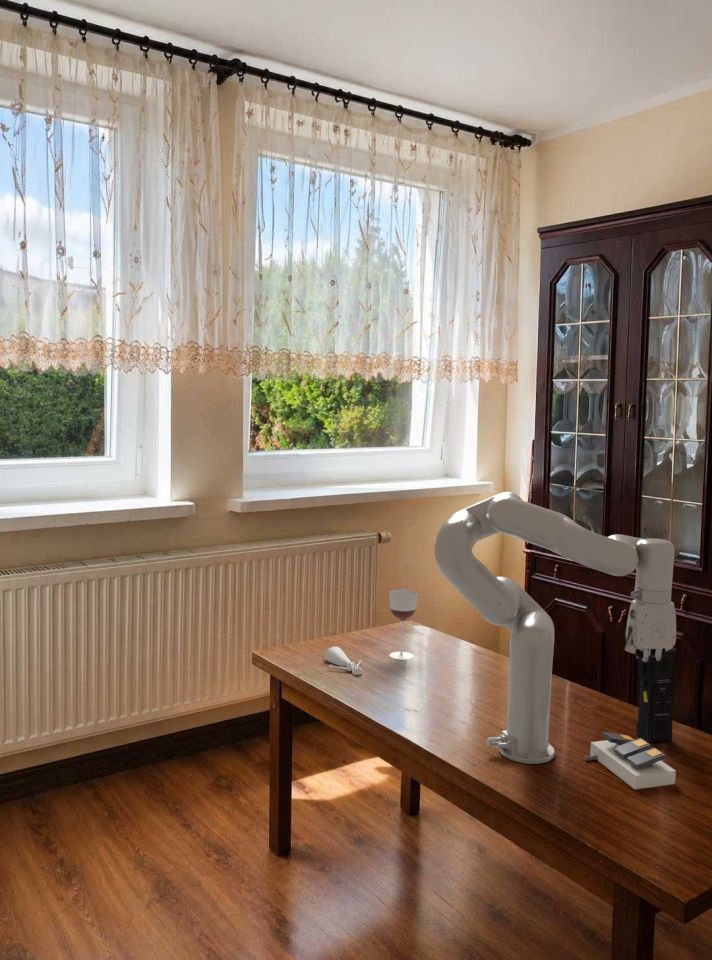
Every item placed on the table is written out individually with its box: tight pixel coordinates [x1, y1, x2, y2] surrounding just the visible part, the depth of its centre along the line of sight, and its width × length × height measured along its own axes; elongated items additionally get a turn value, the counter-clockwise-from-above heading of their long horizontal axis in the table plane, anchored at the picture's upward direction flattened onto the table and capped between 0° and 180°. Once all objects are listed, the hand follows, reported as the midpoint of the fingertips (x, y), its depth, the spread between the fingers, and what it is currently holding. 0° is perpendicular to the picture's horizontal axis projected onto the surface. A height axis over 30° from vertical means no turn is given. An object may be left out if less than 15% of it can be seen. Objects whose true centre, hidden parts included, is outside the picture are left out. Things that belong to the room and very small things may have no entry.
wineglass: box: [388, 588, 419, 661], centre depth 258 cm, size 8×9×20 cm
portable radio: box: [635, 647, 677, 744], centre depth 201 cm, size 8×6×25 cm
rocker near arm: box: [601, 731, 635, 746], centre depth 190 cm, size 7×4×2 cm, turn 107°
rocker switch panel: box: [584, 739, 677, 790], centre depth 186 cm, size 13×17×3 cm
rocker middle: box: [614, 737, 652, 759], centre depth 186 cm, size 7×4×2 cm, turn 106°
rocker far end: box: [627, 747, 666, 769], centre depth 181 cm, size 7×4×2 cm, turn 106°
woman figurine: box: [324, 646, 363, 676], centre depth 248 cm, size 12×4×18 cm
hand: (647, 676), depth 184 cm, fingers closed
